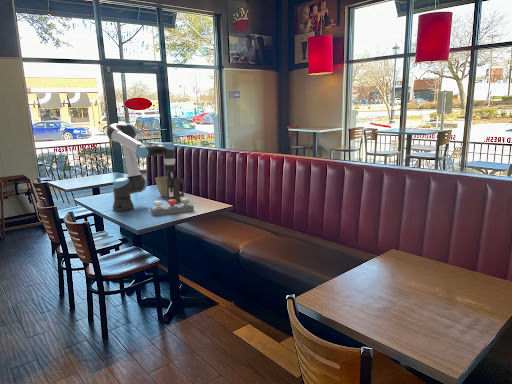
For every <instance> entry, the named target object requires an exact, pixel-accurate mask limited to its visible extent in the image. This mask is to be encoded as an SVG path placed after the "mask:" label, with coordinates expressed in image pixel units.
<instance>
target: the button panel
mask: <svg viewBox="0 0 512 384" xmlns="http://www.w3.org/2000/svg"><path fill="white" fill-rule="evenodd" d="M194 207H195V206H194V204H192V203H191V202H188V204H183V203H178V204H177V203H175V204H174V206H170V204H169V205H161V207H159V208H157V207H156V206H151V207H150V211H151V212H150V213H151V214H152V215H153V216H154V217H155V216H156V215H157V216H163V215H164V214H165V215H172V214H173V215H174V214H180V213H188V212H194V211H195V210H194V209H195V208H194Z"/></svg>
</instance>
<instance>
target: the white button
mask: <svg viewBox="0 0 512 384" xmlns="http://www.w3.org/2000/svg"><path fill="white" fill-rule="evenodd" d="M153 206H155V207H157V208H159V207H161V206H163V201H162V200H155V201H153Z"/></svg>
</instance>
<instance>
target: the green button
mask: <svg viewBox="0 0 512 384" xmlns="http://www.w3.org/2000/svg"><path fill="white" fill-rule="evenodd" d="M190 200H191V199H190V197H182V198H180V202H181V203H182V204H188V203H190Z"/></svg>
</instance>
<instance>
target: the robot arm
mask: <svg viewBox="0 0 512 384" xmlns="http://www.w3.org/2000/svg"><path fill="white" fill-rule="evenodd" d="M137 133H138V132H137V128H136V127H135V126H134V124H132V123H127V122H126V123H124V122H122V123H112V124H110V125H108V126H107V128H106V136H107V137H108V139H110V141H112V142H115V143H116V142H118V143H119V144H120V145H121V147H122V151H123V157H124V159H125V160H124V161H125V166H126V170H127V175H126V177H119V178H116V179H114V180H113V181H112V189H113V199H114V201H113V204H112V211H113V212H129V211H131V210H134V209H135V205H134V203H133V201H132V198H131V195H132V194H137V193H141V192H144V191H145V190H146V189H147V186H148V181H147V179H146V177H144V176H143V173H141V172H140V168H139V162H138V158H148V157H155V156H163V162H164V163H163V164H164V166H163V167H164V170H165V171H167V172H166V177H167V180H168V186H169V187H168V188H169V197H173V187H174V177H175V173H174V171H175V170H176V156H175V155H176V153H175V143H174V142H172V141H171V142H170V141H169V142H163V144H152V145H146V144H144V143H142V142H140V141H139V140H136V136H137ZM137 157H138V158H137Z"/></svg>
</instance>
